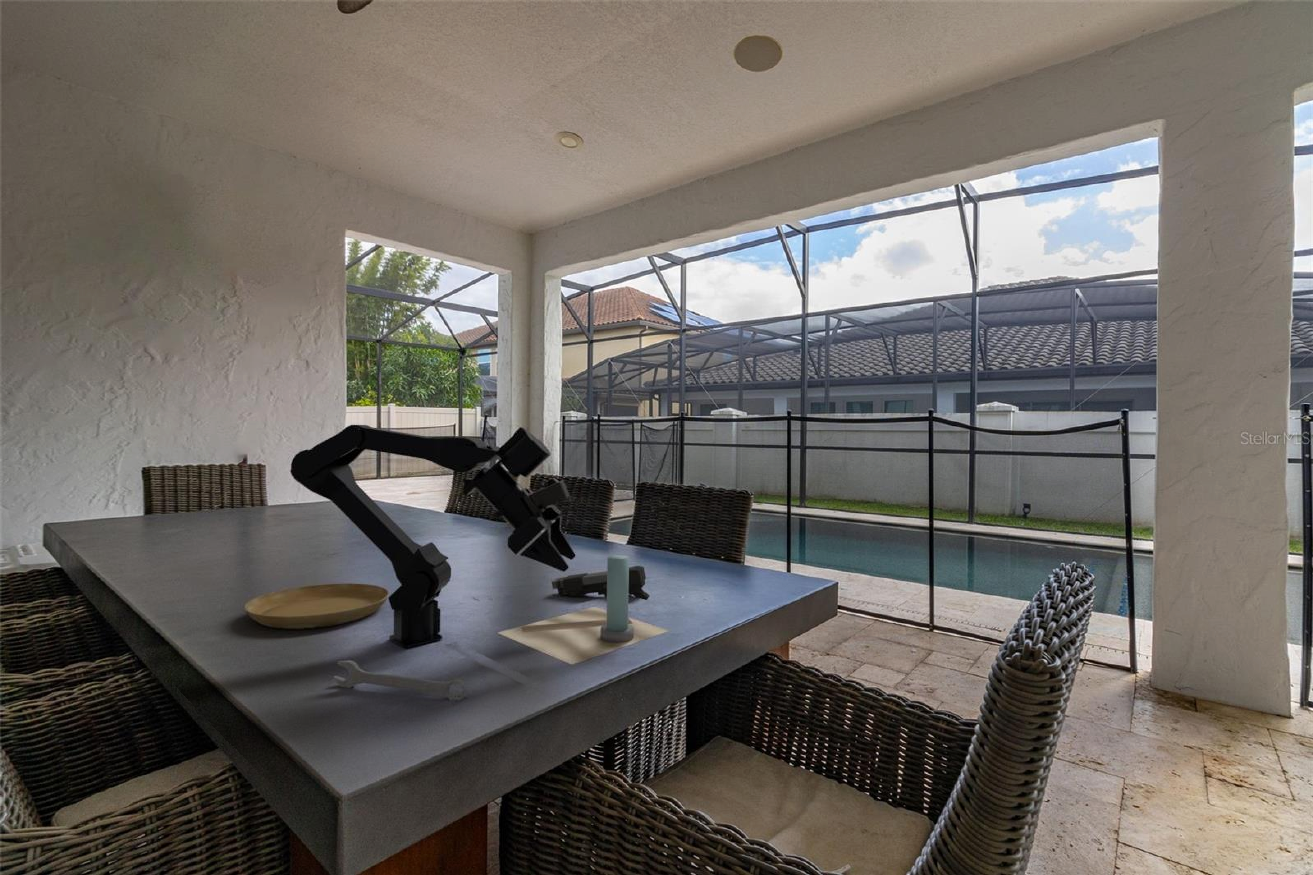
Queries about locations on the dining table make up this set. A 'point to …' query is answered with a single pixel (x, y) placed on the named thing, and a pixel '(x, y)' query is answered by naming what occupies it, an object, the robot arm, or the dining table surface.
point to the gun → (599, 583)
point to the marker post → (617, 601)
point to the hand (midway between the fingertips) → (570, 563)
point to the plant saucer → (316, 605)
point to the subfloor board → (576, 635)
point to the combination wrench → (397, 681)
